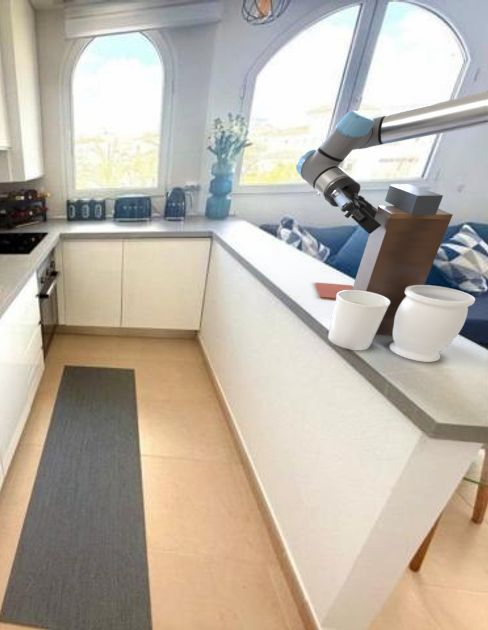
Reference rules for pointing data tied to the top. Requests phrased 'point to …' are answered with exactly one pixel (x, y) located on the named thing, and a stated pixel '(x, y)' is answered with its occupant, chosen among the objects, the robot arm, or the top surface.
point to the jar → (428, 321)
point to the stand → (399, 256)
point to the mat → (331, 290)
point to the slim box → (413, 199)
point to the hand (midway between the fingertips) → (391, 236)
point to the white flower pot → (356, 318)
